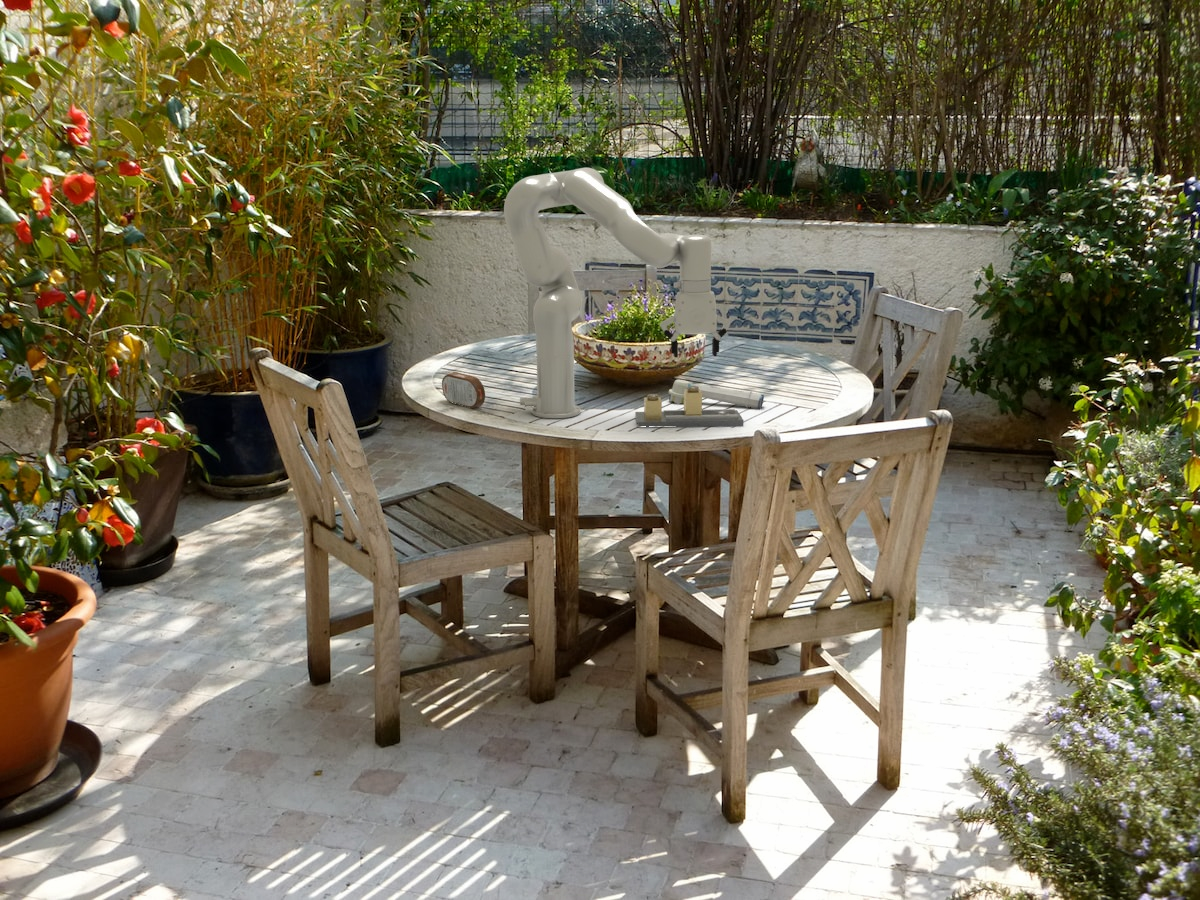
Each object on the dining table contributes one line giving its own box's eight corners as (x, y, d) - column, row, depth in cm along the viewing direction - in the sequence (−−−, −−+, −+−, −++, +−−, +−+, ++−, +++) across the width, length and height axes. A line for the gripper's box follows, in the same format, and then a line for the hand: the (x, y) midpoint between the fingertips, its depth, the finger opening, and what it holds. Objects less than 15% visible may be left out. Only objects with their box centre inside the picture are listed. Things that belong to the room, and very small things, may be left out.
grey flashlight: (761, 396, 305) (669, 377, 312) (757, 421, 307) (665, 401, 314) (765, 392, 310) (674, 373, 317) (760, 416, 312) (670, 397, 319)
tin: (486, 409, 309) (485, 377, 307) (477, 411, 307) (476, 379, 305) (449, 399, 319) (448, 369, 317) (440, 402, 317) (439, 371, 315)
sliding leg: (685, 416, 293) (686, 389, 291) (683, 412, 297) (684, 385, 295) (701, 416, 293) (702, 388, 291) (699, 412, 297) (700, 385, 295)
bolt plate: (638, 427, 290) (638, 418, 289) (635, 417, 300) (635, 408, 299) (743, 426, 291) (743, 417, 291) (736, 415, 301) (737, 407, 300)
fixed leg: (645, 418, 293) (645, 397, 291) (644, 414, 296) (644, 393, 295) (661, 418, 293) (661, 396, 291) (659, 414, 297) (660, 393, 295)
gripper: (661, 289, 282) (661, 360, 287) (733, 287, 283) (732, 358, 288) (658, 285, 289) (658, 353, 294) (728, 283, 290) (727, 352, 295)
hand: (695, 355), depth 291 cm, fingers open, 9 cm apart
